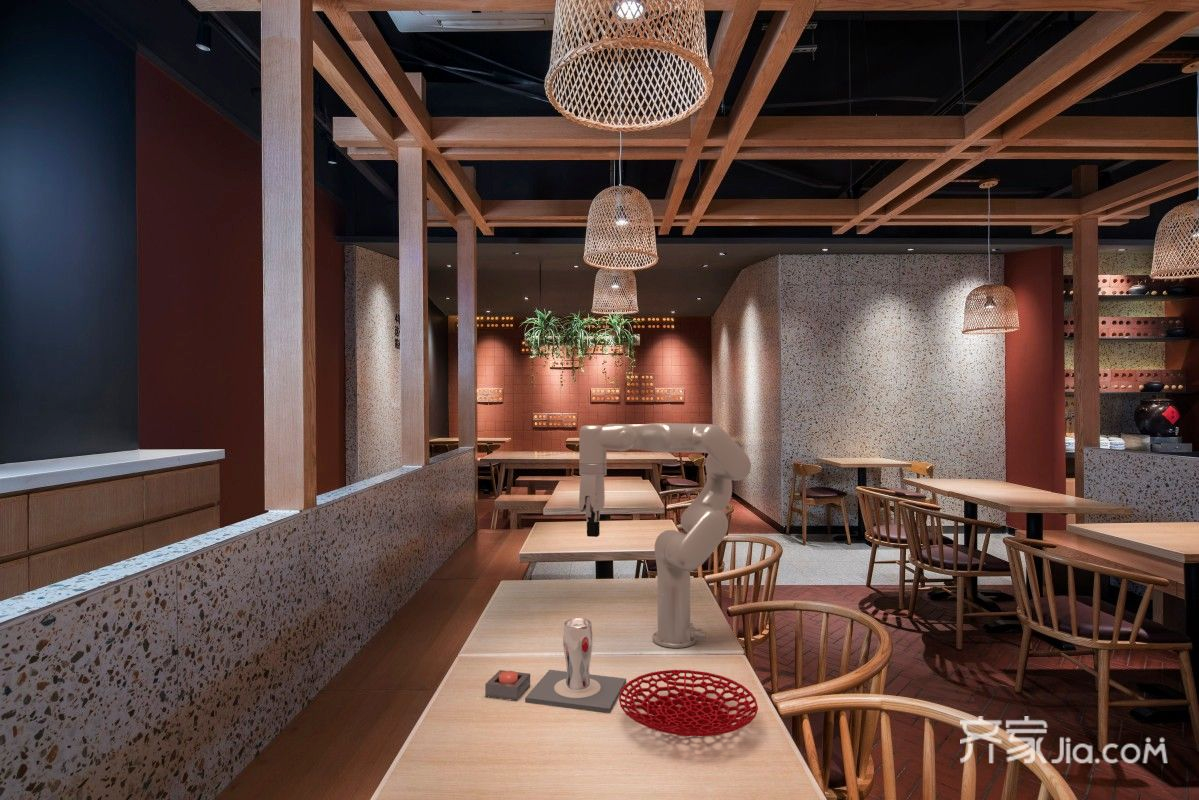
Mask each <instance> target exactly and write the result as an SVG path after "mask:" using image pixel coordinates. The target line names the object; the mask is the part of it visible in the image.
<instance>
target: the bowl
mask: <svg viewBox="0 0 1199 800" xmlns="http://www.w3.org/2000/svg"><path fill="white" fill-rule="evenodd" d="M680 674H684V675H680ZM687 674H691V676H687ZM661 675H663V676H661ZM696 675H699V676H696ZM653 676H657V677H658V678H654V677H653ZM675 676H676V677H675ZM649 677H650V678H649ZM646 678H649V679H646ZM714 678H716V679H719V680H715V679H714ZM679 680H683V682H681V681H679ZM706 680H707V681H709V682H707V681H706ZM687 681H690V682H691V683H689V682H687ZM697 681H701V682H700V683H699V682H698V683H696V682H697ZM724 681H725V682H724ZM651 682H653V683H651ZM659 682H664V683H665V684H666V686H659V685H658V683H659ZM634 683H636V684H634ZM633 684H634V685H633ZM642 684H648V687H642V686H641V685H642ZM731 684H732V685H734V686H735V687H733V686H730V685H731ZM628 687H630V688H628ZM679 687H683V688H679ZM708 687H712V688H714V689H708ZM637 688H638V689H637ZM651 688H655V690H652V689H651ZM689 688H691V689H689ZM695 688H702V689H704V690H703V691H701V692H700V691H697V690H695ZM726 688H727V689H726ZM718 689H719V690H721V689H722V692H720V693H719V692H718V691H717V690H718ZM740 689H742V691H741V692H739V691H738V690H740ZM671 691H675V692H671ZM624 692H626V693H624ZM646 692H647V693H649V694H648V695H646V694H645V693H646ZM659 692H667V693H668V694H667V695H659V694H658V693H659ZM676 692H677V693H676ZM687 694H688V695H687ZM708 694H710V695H716V698H714V697H710V696H708ZM725 694H731V695H732V696H731V697H725ZM622 697H623V698H622ZM634 697H635V698H634ZM639 697H642V698H644V699H641V698H639ZM749 697H751V700H750V701H749V700H748V699H747V698H749ZM653 698H655V699H656V700H651V699H653ZM627 699H628V700H627ZM742 699H743V700H744V699H745V700H744V701H740V700H742ZM618 700H619V707H620V708H621V709H622V710H623V712H624V714H625V715H626V716H627V717H629V718H630V719H632V720H633V721H634V722H636V723H638V724H640V725H642V726H644V727H646V728H648V729H651V730H655V731H658V732H661V733H665V734H671V735H676V736H683V737H708V736H711V737H712V736H720V735H723V734H728V733H733V732H734V731H738V730H740V729H742V728H743V727H746V726H748V725H749V724H750V723H751V722H752V721H753V720H754V719H755V718H756V715H757V713H758V711H759V706H758V703H757V698H756V697H755V695H754V694H753V692H751V691H750V690H749V689H748V688H746V687H745V686H744V685H743V684H740V683H739V682H737V681H735V680H734V679H732V678H728V677H726V676H722V675H719V674H716V673H712V672H707V671H699V670H691V669H690V670H689V669H669V670H668V669H667V670H657V671H651V672H648V673H646V674H642V675H639V676H637V677H635V678H633V679H631V680H629V681H628V682H626V684H625V686H624V687H623V688H622V690H621V691H620V695H619V697H618ZM729 702H736V705H735V706H732V705H731V706H729V705H727V704H726V703H729ZM636 703H638V704H636ZM753 703H754V705H753ZM751 705H753V706H751ZM741 706H742V707H741ZM743 706H744V707H743ZM739 707H741V708H739ZM639 710H642V711H644V712H645V713H644V712H643V713H641V712H640V711H639ZM734 711H736V713H730V712H734ZM747 713H748V714H747Z"/></svg>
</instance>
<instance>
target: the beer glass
mask: <svg viewBox="0 0 1199 800" xmlns="http://www.w3.org/2000/svg"><path fill="white" fill-rule="evenodd" d="M562 635H563V636H562V638H563V639H562V640H563V641H562V644H563V645H562V646H563V655H564V660H565V667H566V672H567V677H566V683H565V687H566V689H567V690H569V691H573V692H582V691H586V690H588V689H589V688H590V687H591V682H590V677H589V674H590V663H591V658H592V653H593V627H592V621H591V620H590V619H586V618H570V619H568V620H566V621H564V623H563V633H562Z"/></svg>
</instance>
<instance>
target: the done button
mask: <svg viewBox="0 0 1199 800" xmlns="http://www.w3.org/2000/svg"><path fill="white" fill-rule="evenodd" d="M517 672H518V671H514V670H504V672H501V673H500V674H499V683H506V684H515V683H516V682H517V681H518V674H517Z"/></svg>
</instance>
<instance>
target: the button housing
mask: <svg viewBox="0 0 1199 800" xmlns="http://www.w3.org/2000/svg"><path fill="white" fill-rule="evenodd" d="M504 671H505V670H503V669H499V670H498V671H497V672H496V673H495V674H494V675H493V676H492V677H491V678H489V679H488V680H487V682H486V683H485V689H484V690H485V692H484V693H485V696H489V697H488V698H491V697H496V698H495V699H499V698H502V699H501V700H506V699H511V700H510V701H514V700H515V702H518V701H519V700H520V698H521V697H522V696H523V695H524V694H525V693H526V692H527V691H528V690H529V688H530V687H531V673H528V672H519V671H516V672H517V674H518V681H517V682H516V683H515V684H506V683H499V674H500V673H501V672H504ZM525 691H526V692H525ZM524 692H525V693H524ZM517 700H518V701H517Z"/></svg>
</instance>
